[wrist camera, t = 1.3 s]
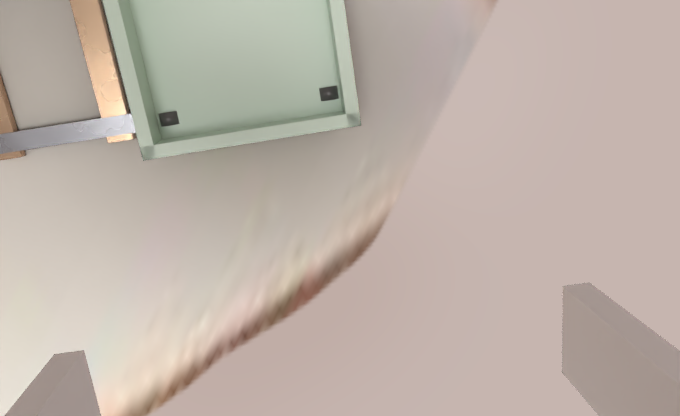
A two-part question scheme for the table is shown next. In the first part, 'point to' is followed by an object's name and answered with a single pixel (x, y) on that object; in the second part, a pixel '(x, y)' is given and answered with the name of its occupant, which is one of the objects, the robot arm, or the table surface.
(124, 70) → the shallow green tray
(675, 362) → the robot arm
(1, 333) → the table surface
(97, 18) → the rails
